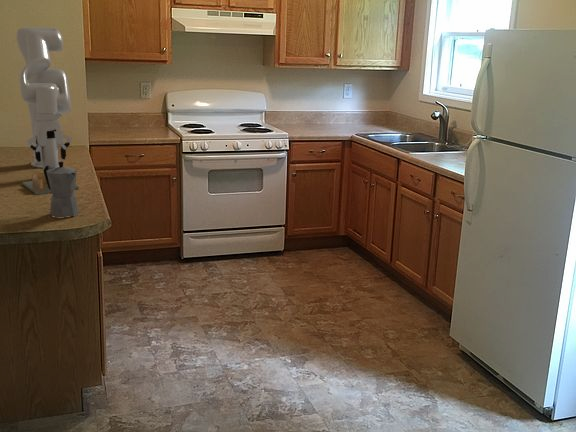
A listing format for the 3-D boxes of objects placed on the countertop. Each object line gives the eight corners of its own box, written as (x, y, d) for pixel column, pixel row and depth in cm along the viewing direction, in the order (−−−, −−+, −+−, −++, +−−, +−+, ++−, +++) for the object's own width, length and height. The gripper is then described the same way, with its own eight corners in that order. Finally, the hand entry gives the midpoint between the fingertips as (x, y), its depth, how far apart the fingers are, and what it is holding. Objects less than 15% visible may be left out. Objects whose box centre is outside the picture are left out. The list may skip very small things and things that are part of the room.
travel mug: (55, 180, 252) (51, 130, 246) (40, 179, 253) (36, 129, 248) (64, 176, 258) (60, 128, 252) (49, 175, 259) (45, 127, 253)
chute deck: (22, 184, 244) (21, 172, 243) (64, 179, 254) (63, 167, 252) (35, 194, 231) (34, 181, 230) (78, 189, 241) (77, 176, 239)
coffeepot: (89, 215, 210) (86, 162, 205) (66, 221, 203) (62, 166, 197) (59, 206, 218) (55, 155, 213) (35, 212, 211) (30, 160, 205)
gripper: (66, 114, 256) (69, 156, 261) (22, 117, 246) (26, 160, 251) (73, 117, 251) (75, 159, 256) (27, 119, 241) (31, 164, 246)
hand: (51, 160), depth 253 cm, fingers open, 9 cm apart
